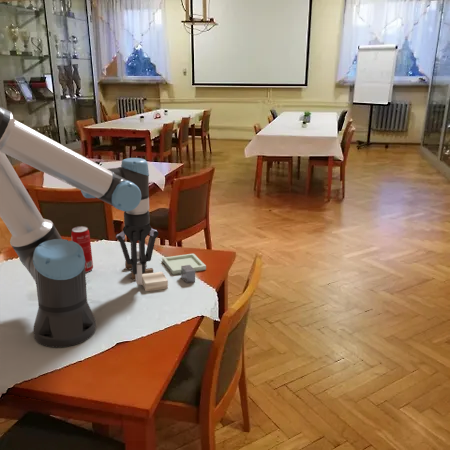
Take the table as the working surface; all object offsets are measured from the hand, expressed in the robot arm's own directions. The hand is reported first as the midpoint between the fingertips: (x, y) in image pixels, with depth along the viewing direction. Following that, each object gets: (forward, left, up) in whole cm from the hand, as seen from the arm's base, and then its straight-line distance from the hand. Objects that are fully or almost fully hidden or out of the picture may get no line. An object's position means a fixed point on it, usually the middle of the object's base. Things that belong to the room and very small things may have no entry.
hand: (138, 282), depth 142 cm
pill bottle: (+11, -3, -2) cm, 11 cm away
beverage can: (+19, +14, -2) cm, 24 cm away
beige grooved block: (0, -5, -2) cm, 5 cm away
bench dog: (0, -16, -2) cm, 16 cm away
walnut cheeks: (+11, -3, -2) cm, 11 cm away
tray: (+11, -19, -2) cm, 22 cm away
